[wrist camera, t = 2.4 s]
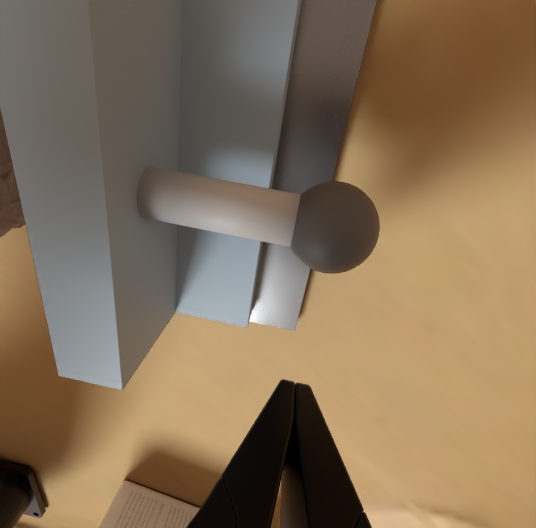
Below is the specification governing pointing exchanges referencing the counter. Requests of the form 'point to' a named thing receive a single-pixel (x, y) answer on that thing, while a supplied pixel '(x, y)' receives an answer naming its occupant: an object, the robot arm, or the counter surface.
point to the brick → (8, 188)
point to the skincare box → (146, 509)
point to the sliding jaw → (157, 167)
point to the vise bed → (311, 135)
